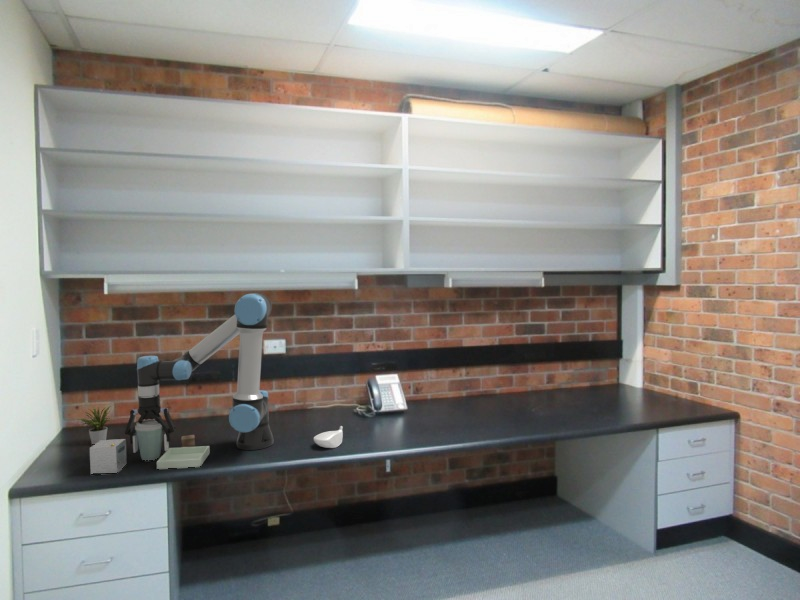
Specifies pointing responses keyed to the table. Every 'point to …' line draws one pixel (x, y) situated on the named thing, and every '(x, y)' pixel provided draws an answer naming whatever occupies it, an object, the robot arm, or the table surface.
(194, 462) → the tray
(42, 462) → the table surface
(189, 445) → the walnut block
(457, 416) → the table surface
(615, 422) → the table surface
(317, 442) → the golf club head
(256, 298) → the robot arm
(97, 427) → the house plant
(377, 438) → the table surface
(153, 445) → the disposable coffee cup
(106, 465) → the unit
